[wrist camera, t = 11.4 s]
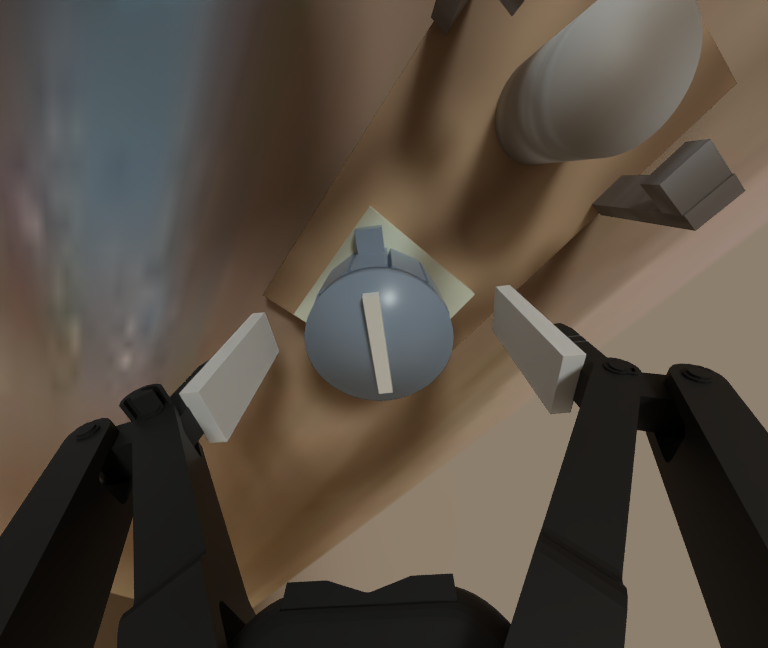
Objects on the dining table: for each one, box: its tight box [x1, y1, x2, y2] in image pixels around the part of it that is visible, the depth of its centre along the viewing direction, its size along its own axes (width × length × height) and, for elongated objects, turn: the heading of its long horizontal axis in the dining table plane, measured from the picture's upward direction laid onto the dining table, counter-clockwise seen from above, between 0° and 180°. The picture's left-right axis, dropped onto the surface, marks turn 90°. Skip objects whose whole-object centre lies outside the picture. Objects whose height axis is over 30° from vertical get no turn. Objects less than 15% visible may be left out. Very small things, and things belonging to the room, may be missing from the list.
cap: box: [304, 225, 454, 401], centre depth 17 cm, size 11×8×6 cm
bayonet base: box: [263, 0, 745, 350], centre depth 15 cm, size 14×26×7 cm, turn 142°
